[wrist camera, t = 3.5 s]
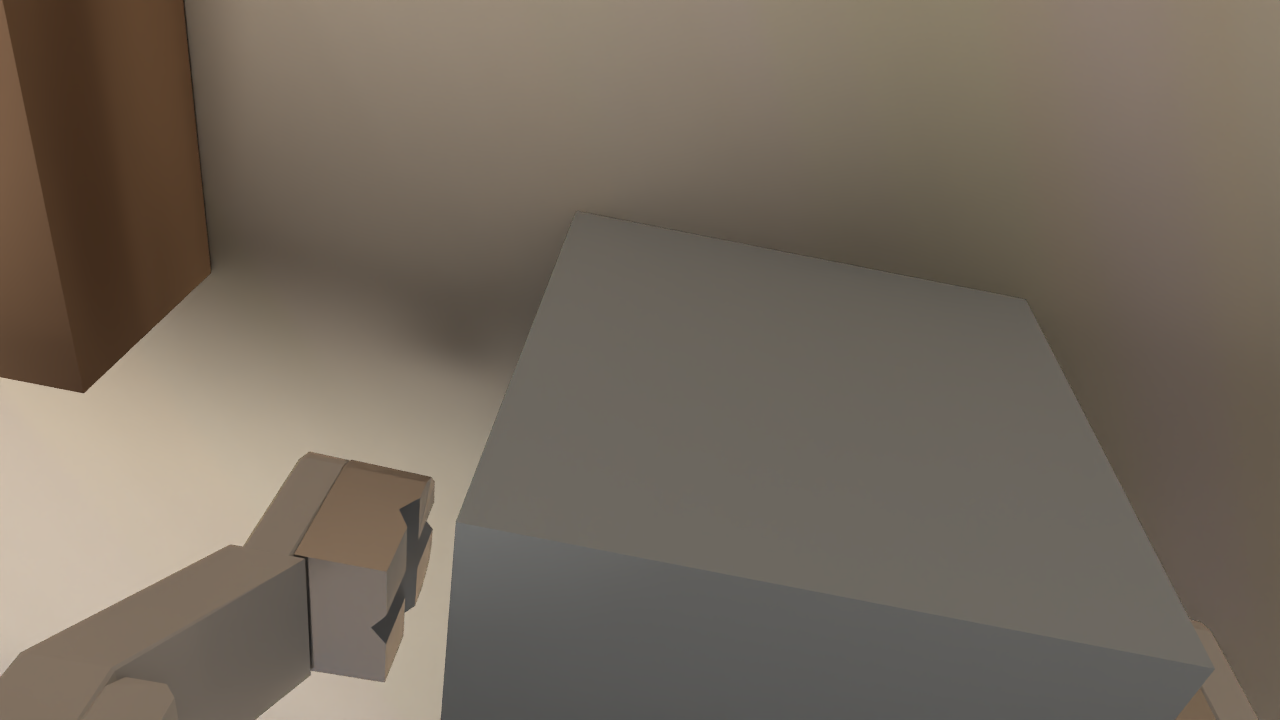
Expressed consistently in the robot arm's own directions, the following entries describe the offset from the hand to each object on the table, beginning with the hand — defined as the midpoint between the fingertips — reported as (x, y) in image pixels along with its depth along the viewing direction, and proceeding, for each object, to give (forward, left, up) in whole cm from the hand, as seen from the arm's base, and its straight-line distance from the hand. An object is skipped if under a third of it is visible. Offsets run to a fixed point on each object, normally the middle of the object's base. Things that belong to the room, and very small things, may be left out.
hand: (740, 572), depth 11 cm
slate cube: (0, 0, -3) cm, 3 cm away
